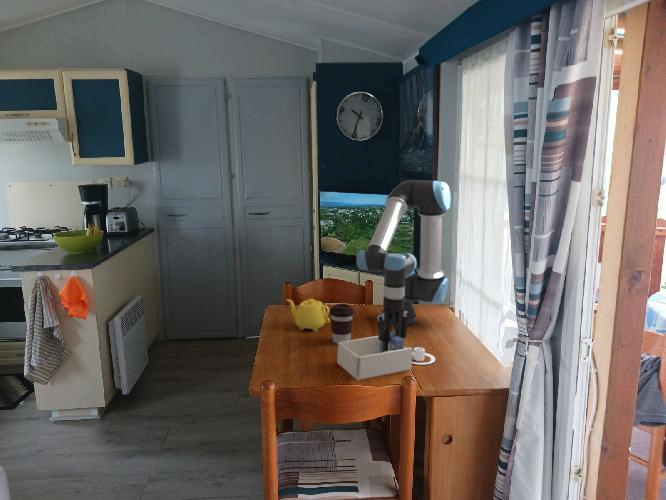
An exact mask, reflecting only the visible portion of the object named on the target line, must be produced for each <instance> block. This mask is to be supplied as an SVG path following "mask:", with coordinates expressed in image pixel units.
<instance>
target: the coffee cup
mask: <svg viewBox="0 0 666 500" xmlns="http://www.w3.org/2000/svg"><path fill="white" fill-rule="evenodd" d="M329 310H330V311H329V315H330V330H331V338H332V343H334V344H337V343H338V342H343V341H349V340H351V336H352V335H351V334H352V330H353V319H354V318H353V315H355V309H354V308H352V307H351V305H350V304H348V303H337V304H334V305H333V307H330V308H329Z"/></svg>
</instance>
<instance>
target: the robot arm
mask: <svg viewBox="0 0 666 500" xmlns="http://www.w3.org/2000/svg"><path fill="white" fill-rule="evenodd" d="M384 204H385V208H384V209H383V210H384V211H383V212H382V215H381V217H380V220H379V222H378V224H377V227H376V228H375V231H374V233H373V235H372V238H371V240H370V242H369V244H368V247H367V249H363V250H360V251H358V253H357V255H356V260H355V261H356V262H355V263H356V266H357V268H358V269H359V270H362V271H367V272H378V273H384V274H383V275H384V276H383V277H384V278H383V279H384V280H383V296H384V297H383V302H382V305H383V310H382V311H381V314H377V315H376V316H375V318H376V321H377V332H378V335H377V336H379V340H380V341H382V342H383V349H384V350H385V352H388V351H389V349H391V343H390V342H389V339H390V333H391V332H392V326H393V325H394V331H395V333H394V334H395V335H397V336H398V337H400V338H402V339H403V340H405V339H406V338H407V333H408V326H410V325H413V324H416V323H417V314H416V310H415V306H414V301H415V302H423V303H428V304H437V305H439V304H443V302H444V301H445V299H446V296H447V294H448V288H449V284H450V283H449V281H450V280H449V278H448V277H445V272H444V271H443V269H442V236H443V235H442V234H443V232H442V229H443V228H442V226H443V223H442V221H443V220H442V219H443V217H444V216H445V215H446V212H447V211H448V210H449V209H450V207H451V191H450V186H449V185H448V184H447V183H446V182H444V181H440V180H439V181H438V180H420V179H419V180H417V179H409V180H405V181H403V182H402V183H400V184H398V185H397V186H395V187H394V188H393V189H392V191H391V192H389V194H388V195H387V197H386V199H385V203H384ZM410 208H411V209H417V214H418V216H419V217H420V218H421V219H420V223H421V224H420V239H421V240H420V269H419V270H418V271H417V274H416V272H415V269H416V268H417V265H418V264H417V263H418V262H417V258H416V257H415V255H413V254H412V253H410V252H405V253H397V252H396V253H395V252H394V253H392V252H391V253H389V252H388V250H389V247H390V245H391V244H392V243H391V242H392V240H393V238H394V235H395V233H396V231H397V228H398V226H399V223H400V222H401V219H402V216H403V215H404V214H405V213H407V210H408V209H410Z"/></svg>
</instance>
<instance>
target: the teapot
mask: <svg viewBox="0 0 666 500" xmlns="http://www.w3.org/2000/svg"><path fill="white" fill-rule="evenodd" d="M285 301H288V303H289V305H290V311H291V314H292V316H294V319H295V320H294V322H295V324H296V326H297V327H298V330H299V331H304V330H306V329H307V330H309V329H310V330H312V332H315V333H317V332H319V329H320V328H322V327H324V326H325V324H329V323H331V318H329V317H328V316H329V315H330V308H329V306H328V305H324V304H323V302H322V301H320V300H315V299H314V298H308V299H306V300H304V301H302V302H300V304H299V305H298V306H297V307H298V308H296V306H295V303H294V301H293V300H292V299H287V298H286V299H285Z"/></svg>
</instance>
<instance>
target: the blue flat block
mask: <svg viewBox="0 0 666 500" xmlns="http://www.w3.org/2000/svg"><path fill="white" fill-rule="evenodd" d="M389 342H390V343H391V349H392V350H393V351H394V350H400V349H403V347H404V338H403V339H402V338H400V337H398V336H397V335H396V334H395V333H394V332H392V331H391V333H390V339H389ZM383 352H385V350H384V349H383V342H382V353H383Z"/></svg>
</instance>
